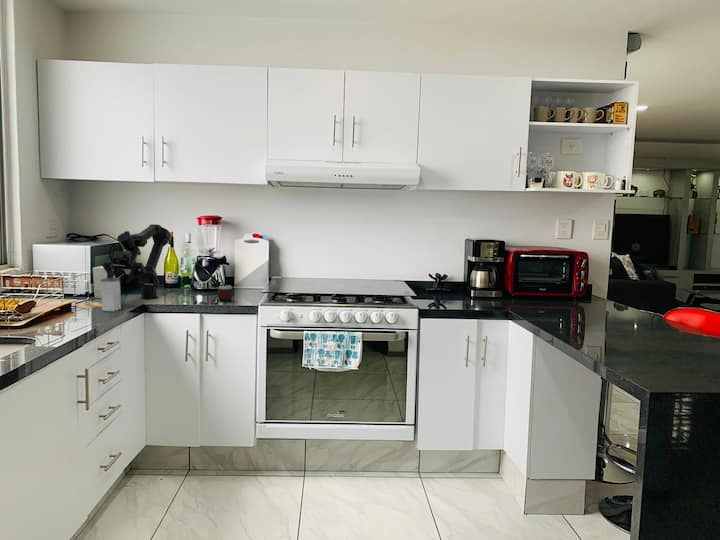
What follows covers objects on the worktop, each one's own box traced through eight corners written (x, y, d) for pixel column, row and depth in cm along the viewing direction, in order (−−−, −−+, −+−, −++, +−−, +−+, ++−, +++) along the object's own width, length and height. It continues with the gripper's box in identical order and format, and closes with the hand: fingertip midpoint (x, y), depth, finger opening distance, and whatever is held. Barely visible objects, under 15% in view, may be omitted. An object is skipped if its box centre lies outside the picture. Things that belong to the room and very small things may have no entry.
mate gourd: (234, 302, 267) (234, 271, 265) (218, 303, 263) (217, 272, 262) (230, 299, 273) (230, 270, 272) (214, 300, 270) (214, 270, 268)
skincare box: (116, 297, 275) (115, 266, 274) (107, 299, 269) (106, 267, 267) (102, 296, 277) (101, 265, 276) (93, 298, 271) (92, 267, 269)
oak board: (97, 304, 258) (97, 302, 258) (110, 307, 251) (110, 304, 251) (71, 307, 248) (71, 305, 248) (84, 310, 241) (84, 308, 241)
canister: (109, 308, 244) (108, 277, 243) (121, 309, 243) (120, 278, 242) (101, 310, 238) (100, 279, 237) (113, 311, 238) (112, 279, 236)
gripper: (103, 244, 250) (89, 270, 240) (142, 245, 247) (129, 271, 238) (114, 259, 258) (101, 285, 248) (151, 260, 256) (139, 287, 246)
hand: (117, 282), depth 245 cm, fingers open, 9 cm apart
